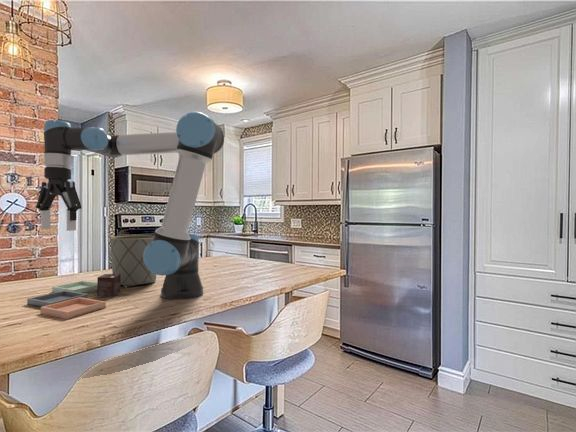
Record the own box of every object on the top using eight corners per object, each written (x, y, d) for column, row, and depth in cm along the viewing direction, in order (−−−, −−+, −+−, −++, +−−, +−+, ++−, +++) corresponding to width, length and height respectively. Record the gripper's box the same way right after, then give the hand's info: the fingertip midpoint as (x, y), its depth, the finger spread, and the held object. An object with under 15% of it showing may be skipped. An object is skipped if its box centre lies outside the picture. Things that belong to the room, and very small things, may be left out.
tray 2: (104, 288, 134) (104, 283, 134) (73, 295, 123) (73, 290, 123) (83, 285, 139) (83, 280, 139) (52, 292, 128) (52, 286, 128)
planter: (102, 283, 144) (102, 236, 143) (145, 276, 158) (145, 234, 158) (122, 290, 131) (122, 239, 131) (166, 282, 146) (166, 237, 146)
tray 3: (105, 307, 108) (105, 301, 108) (67, 319, 97) (67, 312, 97) (80, 303, 113) (80, 297, 113) (40, 313, 102) (40, 307, 102)
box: (104, 293, 127) (104, 273, 127) (121, 292, 128) (121, 273, 127) (96, 297, 121) (96, 277, 121) (114, 297, 121) (114, 277, 121)
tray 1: (87, 299, 117) (87, 294, 117) (51, 309, 106) (51, 303, 106) (64, 295, 122) (64, 290, 122) (27, 304, 111) (27, 298, 111)
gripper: (93, 167, 112) (93, 230, 112) (46, 170, 122) (47, 228, 122) (71, 164, 105) (71, 231, 105) (23, 167, 115) (24, 229, 115)
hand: (58, 230), depth 114 cm, fingers open, 13 cm apart
